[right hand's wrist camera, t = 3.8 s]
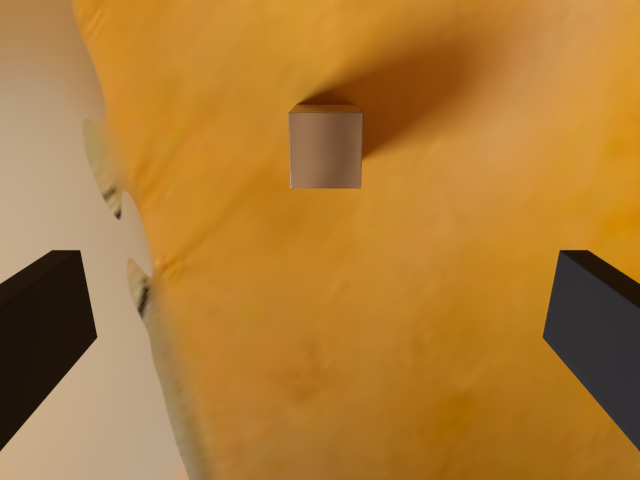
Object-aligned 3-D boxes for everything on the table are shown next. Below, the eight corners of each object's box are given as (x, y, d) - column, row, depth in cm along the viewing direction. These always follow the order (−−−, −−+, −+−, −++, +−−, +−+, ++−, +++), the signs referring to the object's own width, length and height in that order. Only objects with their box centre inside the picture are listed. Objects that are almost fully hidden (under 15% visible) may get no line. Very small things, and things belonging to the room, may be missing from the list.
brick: (297, 164, 47) (290, 188, 37) (296, 104, 45) (288, 112, 35) (352, 164, 47) (360, 188, 37) (354, 104, 45) (363, 112, 35)
